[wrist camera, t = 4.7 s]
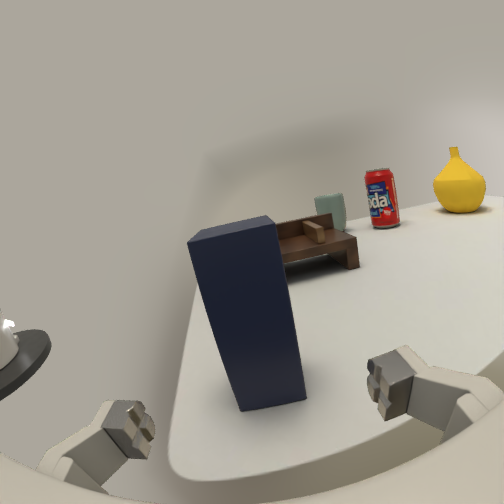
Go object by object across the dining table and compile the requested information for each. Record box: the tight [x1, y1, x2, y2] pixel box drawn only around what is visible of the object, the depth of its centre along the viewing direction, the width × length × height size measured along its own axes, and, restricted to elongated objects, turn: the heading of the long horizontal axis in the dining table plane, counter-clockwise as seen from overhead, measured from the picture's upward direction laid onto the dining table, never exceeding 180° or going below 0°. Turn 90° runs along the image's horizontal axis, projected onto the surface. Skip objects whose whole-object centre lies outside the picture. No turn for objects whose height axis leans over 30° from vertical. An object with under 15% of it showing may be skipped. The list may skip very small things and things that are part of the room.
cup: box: [315, 193, 346, 231], centre depth 69 cm, size 8×8×10 cm
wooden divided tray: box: [276, 213, 360, 270], centre depth 46 cm, size 22×12×8 cm, turn 92°
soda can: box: [365, 168, 400, 228], centre depth 63 cm, size 8×8×15 cm
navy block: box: [187, 215, 307, 411], centre depth 19 cm, size 5×5×13 cm
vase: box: [433, 147, 486, 213], centre depth 60 cm, size 18×18×19 cm
